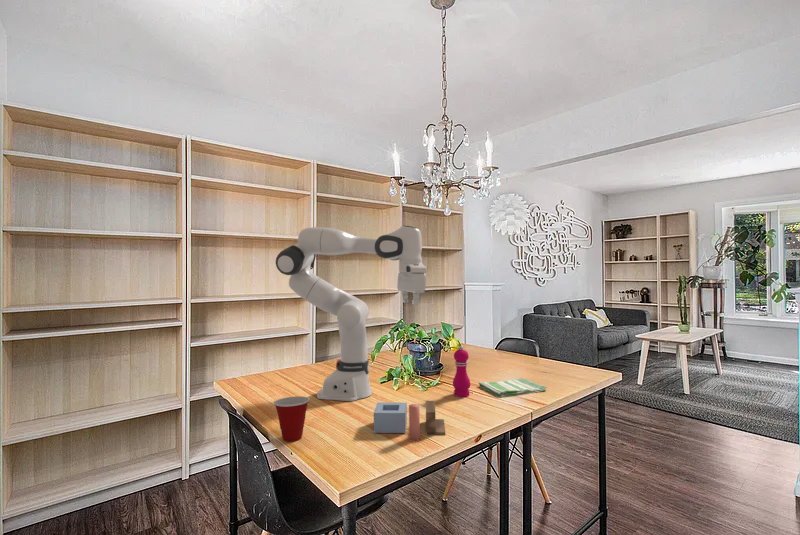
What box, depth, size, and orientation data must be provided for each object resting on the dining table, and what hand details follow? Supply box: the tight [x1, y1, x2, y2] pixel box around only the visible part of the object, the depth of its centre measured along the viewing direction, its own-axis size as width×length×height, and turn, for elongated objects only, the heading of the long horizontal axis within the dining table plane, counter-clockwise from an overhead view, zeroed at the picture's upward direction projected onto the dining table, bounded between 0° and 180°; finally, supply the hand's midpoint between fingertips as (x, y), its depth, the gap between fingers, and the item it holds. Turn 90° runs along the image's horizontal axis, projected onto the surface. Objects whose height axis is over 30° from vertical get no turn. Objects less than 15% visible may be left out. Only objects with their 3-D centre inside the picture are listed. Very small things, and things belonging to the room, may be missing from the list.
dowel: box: [408, 403, 421, 442], centre depth 127 cm, size 3×3×10 cm
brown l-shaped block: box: [425, 400, 446, 436], centre depth 135 cm, size 6×11×7 cm, turn 176°
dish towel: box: [478, 377, 548, 398], centre depth 177 cm, size 18×23×3 cm
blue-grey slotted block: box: [373, 402, 408, 434], centre depth 136 cm, size 10×10×6 cm
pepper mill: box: [452, 345, 472, 398], centre depth 170 cm, size 7×7×20 cm
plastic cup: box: [273, 395, 310, 443], centre depth 129 cm, size 11×11×12 cm
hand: (410, 303), depth 160 cm, fingers open, 8 cm apart
